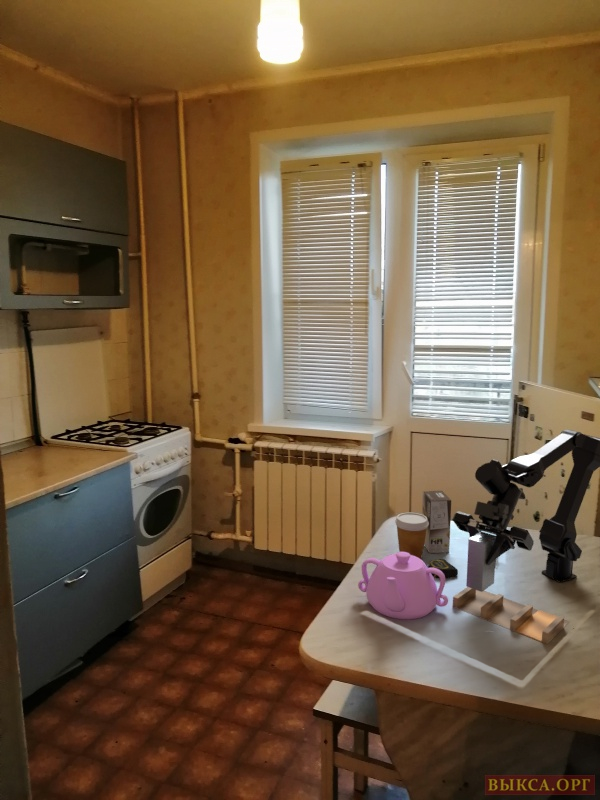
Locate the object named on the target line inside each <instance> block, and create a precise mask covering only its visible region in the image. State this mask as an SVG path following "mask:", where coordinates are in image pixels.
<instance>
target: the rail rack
mask: <svg viewBox="0 0 600 800" xmlns="http://www.w3.org/2000/svg"><path fill="white" fill-rule="evenodd" d="M452 608H455V609H457V610H460V611H463V612H464V613H468V614H470V615H473V616H475V617H478V618H479V619H480V618H481V619H483V620H485V621H487V622H491V623H493V624H495V625H498V626H500V627H502V628H505V629H508V630H511V631H512V632H516V633H518V634H520V635H523V636H525V637H528V638H530V639H532V640H536V641H538V642H540V643H542V644H545V645H548V644H549V643H550V642H551V641H552V640H553V639H554V638H555V637H557V635H558V634H559V633H560V632H561V631H562V630H563V629H564V628H565V627H566V626H568V624H569V623H570V621H569V620H566V619H565V616H561V615H556V614H555V615H554V614H552V613H549V612H547V611H543V610H541V609H536V608H534V606H533V605H531V604H528V603H527V605H525V604H522V603H519V602H517V601H515V600H514V601H513V600H511V599H509V598H507V597H506V598H505V597H504V595H503V594H501V593H498V594H494V593H491V592H489V591H486V590H484V591H483V592H480V591H478V590H475V589H472V588H470V587H467V586H466V587H465V588H464V589H462V590H461V591H459V592H457V594H455V595H453V596H452Z"/></svg>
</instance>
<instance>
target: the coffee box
mask: <svg viewBox="0 0 600 800" xmlns="http://www.w3.org/2000/svg"><path fill="white" fill-rule="evenodd" d="M421 510H422V511H421V512H422V513H421V514H422V515H424V516H426V517H427V520H428V522H429V525H428V527H427V531H426V537H425V543H424V547H425V548H426V550H427V552H428V553H429V554H434V553H435V554H437V553H439V554H440V553H450V545H451V544H450V542H451V541H450V540H451V519H452V500H451V498H450V497H449V496H448V495H447V494H446V493H445V492H444V491H443V490H428V491H426V490H425V491H422V509H421Z"/></svg>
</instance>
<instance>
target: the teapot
mask: <svg viewBox="0 0 600 800" xmlns="http://www.w3.org/2000/svg"><path fill="white" fill-rule="evenodd" d="M368 564H372V565H376V567H375V568H374V569H373V571H372V572H371V575H370V577H369V574H368V569H367V565H368ZM431 573H434V574H436V575H438V576H439V577H440V578H439V580H440V581H439V582H440V583H439V587H437V584H436V580H435V577H433V576H432V574H431ZM361 574H362V579H361V580H359V582H358V584H357V587H358V589H359V591H361V592H363V593H365V594H366V595H365V596H366V599H367V602H368V603H369V604H370V605H371V606H372V608H373V609H374V610H375V611H376V612H378V613H379V614H380V615H381V614H382V615H384V616H385V617H386V616H387V617H389V618H393V619H398V620H415V619H420V618H424V617H426V616H427V615H428V614H430V613H431V612H432V611H433V610H434V609H435V608H436V606H438V607H446V606H447V605H448V604H449V598H448V597H447V595H445V594H443V591H444V588H445V585H446V579H445V575H444V574H443V572H442V571H440V570H439V569H437V568H428V565H426V563H425V562H424V561H423V560H422V559H420V558H418V557H416V556H413V555H410V554H409V553H407V552H399V551H398V552H396V553H393V554H388V555H386V556H384V557H383V558H382V559H381V560H380V559H378V558H374V557H369V558H366V559H365V560H364V561H363V562H362V563H361ZM363 584H364V585H363ZM441 599H443V600H441Z"/></svg>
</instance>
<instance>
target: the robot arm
mask: <svg viewBox="0 0 600 800" xmlns="http://www.w3.org/2000/svg"><path fill="white" fill-rule="evenodd" d="M569 453H571V457H572V463H573V465H572V470H571V472H570V474H569V477H568V480H567V483H566V484H565V488H564V490H563V494H562V496H561V498H560V501H559V504H558V506H557V509H556V511H555V513H554V515H553V516H551V518H544V520H543V521H542V527H541V528H540V529H539V531H538V532H539V536H538V540H539V541H540V544H541V545H540V546H541V549H542V550H543V551H545V552H547V559H546V565H545V569H544V570H541V574H543V575H544V576H547V577H549V578H551V579H553V580H554V581H556V582H558V583H564V582H567V581H570V580H575V579H577V578H578V576H577V575H576V574H575V573H573V569H574V568H573V567H574V566H573V565H574V562H577V561H578V559H580V558H581V556H582V554H583V553H582V552H583V550H582V549H581V547H580V546H579V545H578V544H577V543H576V539H577V535H578V534H577V529H576V525H575V523H576V522H575V521H576V520H577V517H578V514H579V511H580V508H581V506H582V502H583V500H584V498H585V495H586V492H587V489H588V487H589V484H590V481H591V479H592V478H593V477H592V476H593V474H594V472H595V471H596V470H598V469H599V468H600V437H598V436H593V435H588V434H584V433H582V432H580V431H577V430H572V429H568V428H567V429H564V430H562V431H561V432H560V434H559V435H557V436H556V437H554V438H553V439H552V440H550V441H548V442H547V443H546V444H544V445H543V446H541V447H540V448H539V449H537V450H535V451H534V452H533V453H530V454H526V455H520V456H518V457H516V458H513V459H511V460H510V461H508V462H507V464H506V463H505V464H503V465H502V463H501V462H500V461H499V460H498V459H493V458H492V459H491V460H490V461H489V462H486V463H483V464H482V465H480V466H479V467H477V468H476V471H475V473H474V477H475V479H476V481H477V482H478V483H479V485H481V486H482V488H484V489H485V490H486V491H487V492H488V493H489V494H490V495H493V496H492V498H491V500H488V501H487V502H481V501H478V500H477V502H476V505H475V509H474V513H473V515H476V516H478V519H479V520H481V521H478V520H476V519H475V518H474V517H473V515H472V514H471V513H467V512H463V511H459V510H458V511H456V512H455V513H454V515H453V517H452V518H451V519H452V521H453V522H454V525H456V527H457V528H458V530H460V531H462V532H465V533H467V534H468V535H469V538H471V537H472V536H474V535H476V534H478V533H479V532H485V533H488V534H491V535H495V536H496V540H495V543H494V545H493V548H492V550H491V552H490V554H489V556H488V558H487V561H486V564H487V565H490V564H491V563H492V562H493V561H495V562H496V560H497V559H498V558H499V557H500V556H502V555H503V554H505V553H506V552H508V551H509V550H514V549H515V548H516V546H515V544H516V545H517V547H518V548H519V549H523V550H526V551H530V552H531V551H532V549H533V547H534V541H535V540H534V539H533V537H532V536H531V534H530V532H529V530H528V529H525V528H523V527H522V528H521V527H517V526H511V527H510V530H509V529H507V528H508V525H509V524H510V521H513V520H514V518H515V515H514V512H515V510H516V507H517V504H518V502H519V500H526V495H525V493H524V489H523V488H522V487H519V486H518V485H520V486H524V487H526V488H532V487H534V486H535V485H536V484H537V483H538V482H540V480H542V479H543V478H544V475H545V470H547V469H548V468H549V467H551V466H553V465H554V464H555V463H556V462H558V461H559V460H561V459H562V458H564V457H565V456H566V455H567V454H569ZM517 484H518V485H517Z"/></svg>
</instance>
